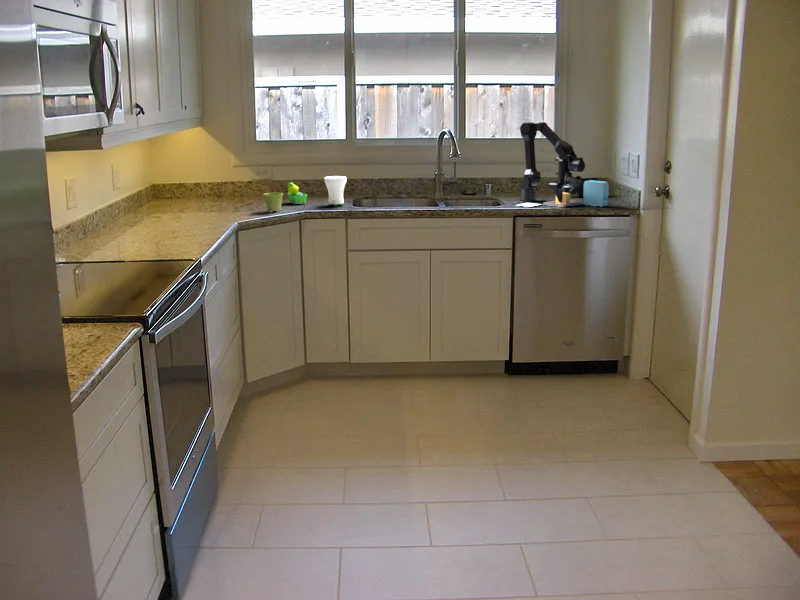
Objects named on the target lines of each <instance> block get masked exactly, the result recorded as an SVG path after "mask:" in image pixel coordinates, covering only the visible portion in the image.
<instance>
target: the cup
mask: <svg viewBox="0 0 800 600" xmlns="http://www.w3.org/2000/svg"><path fill="white" fill-rule="evenodd" d="M323 180H324V184H325V186H326V188H327V191H328V204H329V206H330V205H333V206H334V205H335V206H334V207H337V205H338V206H340V205H342V206H344V203H345V199H344V191H345V187H346V183H347V180H348V179H347V177H346V176H343V175H341V176H340V175H333V176H332V175H331V176H325V177H324V179H323Z"/></svg>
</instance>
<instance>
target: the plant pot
mask: <svg viewBox="0 0 800 600" xmlns="http://www.w3.org/2000/svg"><path fill="white" fill-rule="evenodd" d="M283 195H284V193H283V192H265V193H263V196H264V198H265V203H266V207H267V208H266V209H267V211H268V210H269V211H274V210H281V211H282V199H283Z"/></svg>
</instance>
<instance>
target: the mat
mask: <svg viewBox="0 0 800 600" xmlns="http://www.w3.org/2000/svg"><path fill="white" fill-rule="evenodd" d="M539 205H542V206H543V204H541V203H533V202H524V203H519V204H515V207H519V206H523V207H522V208H527V207H533V208H535V207H534V206H538V207H540V206H539Z"/></svg>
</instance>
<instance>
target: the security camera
mask: <svg viewBox="0 0 800 600" xmlns="http://www.w3.org/2000/svg"><path fill="white" fill-rule="evenodd" d="M590 180H594V181H599V179H598V177H596V176H586V177H585V176H583V177H582V176H581V183H579V186H576V187H574V189H572V190H571V191H570V193H571V196H570V198H571V197H572V195H576V197H577V198H583V192H584V182H585V181H590ZM572 187H573V186H572Z"/></svg>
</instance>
